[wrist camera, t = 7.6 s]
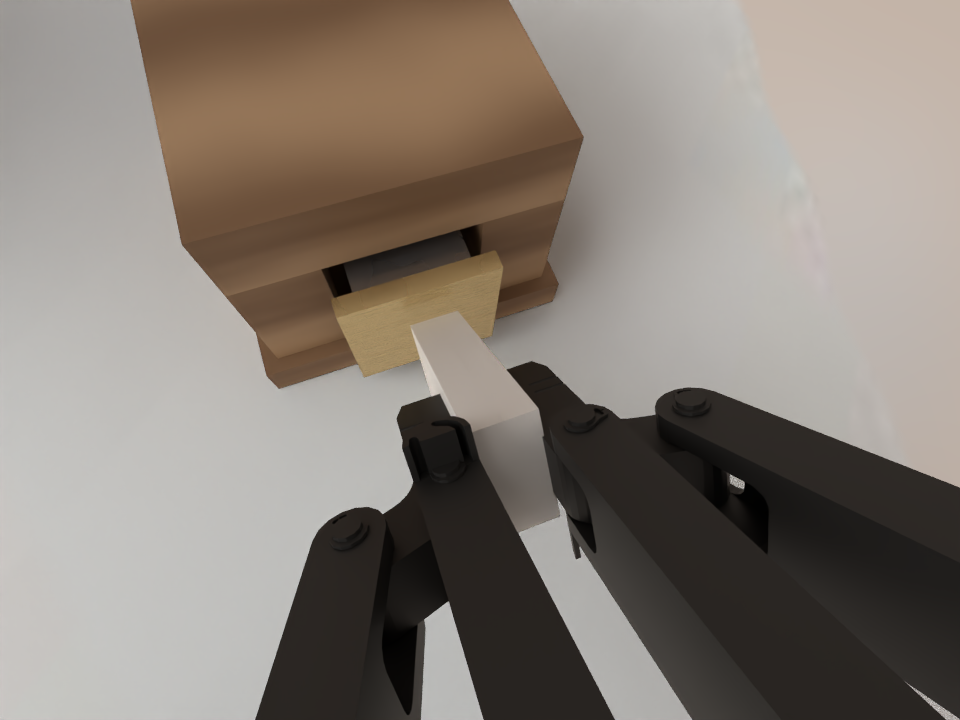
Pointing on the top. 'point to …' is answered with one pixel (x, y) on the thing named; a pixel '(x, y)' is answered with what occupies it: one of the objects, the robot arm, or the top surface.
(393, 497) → the top surface
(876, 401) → the top surface
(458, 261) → the shaft
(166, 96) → the bearing block
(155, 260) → the top surface
